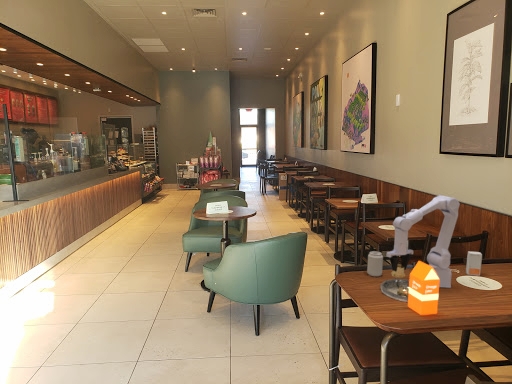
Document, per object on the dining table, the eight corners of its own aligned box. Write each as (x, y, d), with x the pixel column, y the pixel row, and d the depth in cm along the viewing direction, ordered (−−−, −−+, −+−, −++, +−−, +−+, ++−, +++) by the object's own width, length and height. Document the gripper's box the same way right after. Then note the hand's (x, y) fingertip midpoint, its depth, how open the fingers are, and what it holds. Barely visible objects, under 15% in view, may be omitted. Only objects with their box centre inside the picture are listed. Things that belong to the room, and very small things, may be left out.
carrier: (426, 284, 186) (427, 276, 186) (444, 305, 163) (445, 295, 162) (376, 281, 189) (377, 273, 189) (387, 301, 166) (387, 292, 165)
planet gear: (398, 272, 186) (398, 263, 185) (408, 276, 180) (408, 267, 179) (388, 274, 183) (388, 264, 182) (397, 278, 177) (398, 269, 177)
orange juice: (420, 315, 153) (424, 267, 150) (407, 306, 161) (410, 260, 159) (437, 313, 155) (441, 266, 152) (423, 304, 163) (426, 259, 161)
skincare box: (467, 274, 201) (469, 253, 200) (465, 272, 205) (467, 251, 204) (480, 276, 200) (482, 254, 198) (478, 273, 204) (480, 252, 202)
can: (380, 272, 203) (381, 250, 202) (383, 277, 196) (384, 255, 194) (365, 271, 204) (367, 250, 202) (368, 276, 197) (369, 254, 195)
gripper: (406, 239, 185) (404, 265, 187) (382, 241, 180) (381, 269, 182) (417, 242, 179) (415, 270, 181) (393, 245, 173) (391, 273, 175)
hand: (399, 270), depth 181 cm, fingers closed on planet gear, 5 cm apart
